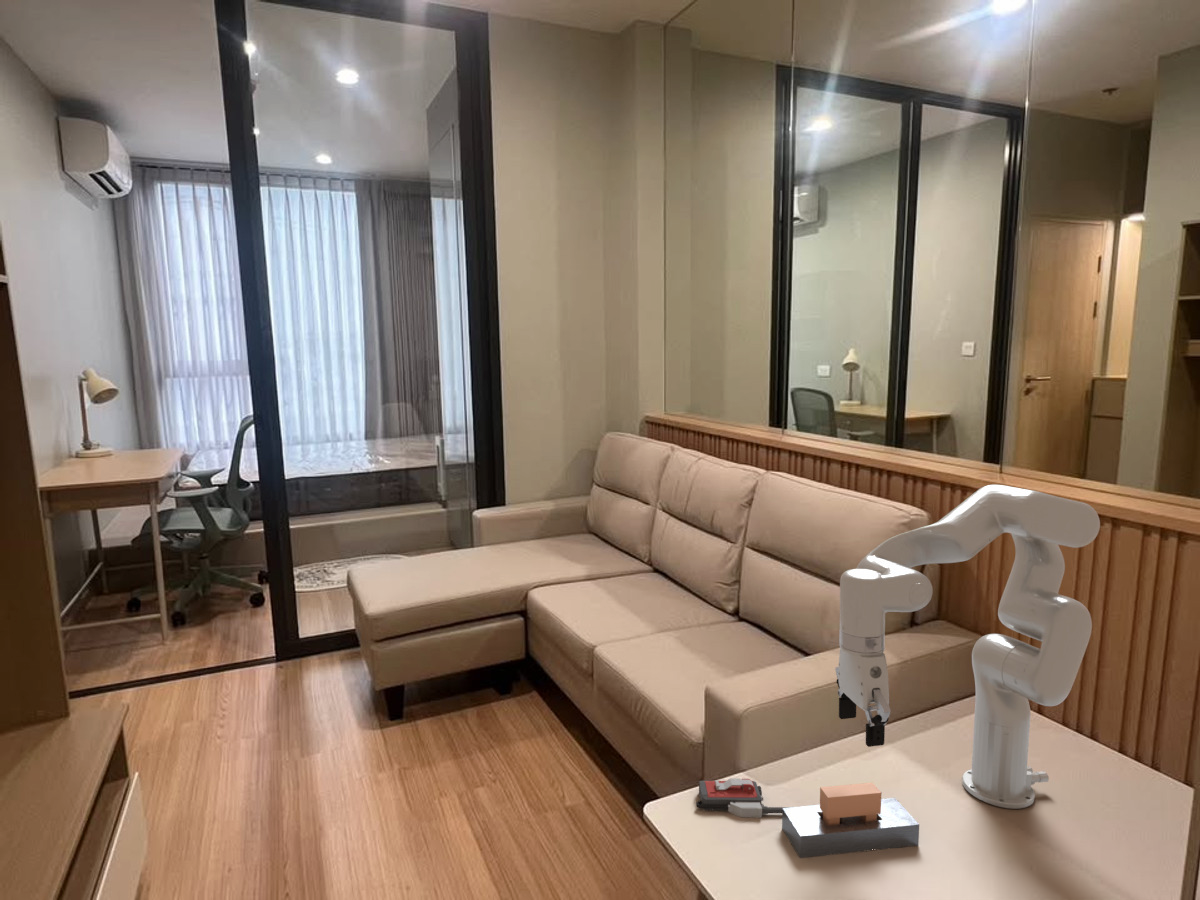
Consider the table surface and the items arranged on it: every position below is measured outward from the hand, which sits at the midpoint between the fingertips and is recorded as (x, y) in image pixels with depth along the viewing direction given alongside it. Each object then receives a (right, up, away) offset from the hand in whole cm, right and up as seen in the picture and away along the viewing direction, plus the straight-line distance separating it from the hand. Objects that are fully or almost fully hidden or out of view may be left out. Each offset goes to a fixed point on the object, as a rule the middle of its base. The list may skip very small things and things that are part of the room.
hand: (860, 730), depth 129 cm
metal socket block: (-2, -19, 0) cm, 19 cm away
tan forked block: (-2, -19, 0) cm, 19 cm away
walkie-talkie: (-18, -19, +10) cm, 28 cm away
